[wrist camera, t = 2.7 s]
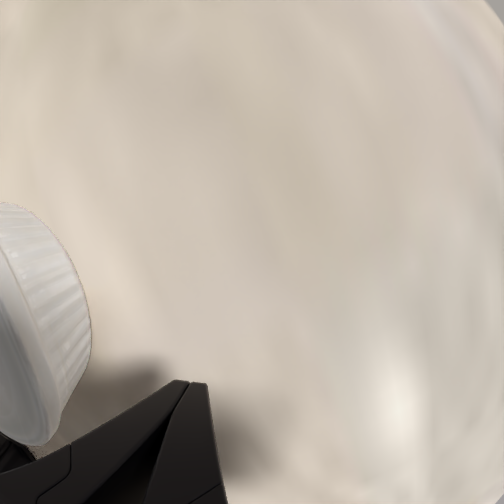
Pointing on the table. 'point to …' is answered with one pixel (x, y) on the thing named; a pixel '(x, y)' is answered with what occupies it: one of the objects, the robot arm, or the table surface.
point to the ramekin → (38, 327)
